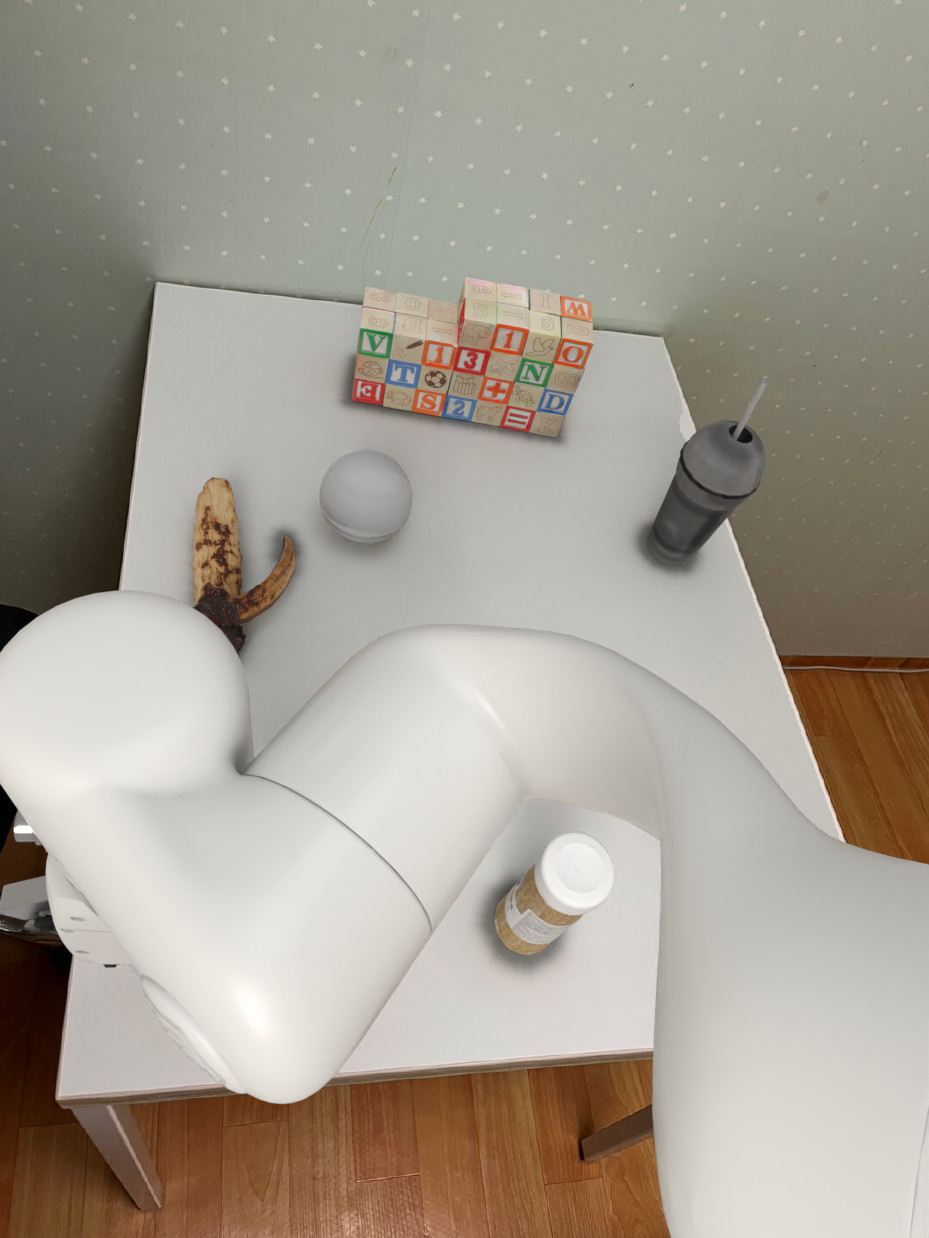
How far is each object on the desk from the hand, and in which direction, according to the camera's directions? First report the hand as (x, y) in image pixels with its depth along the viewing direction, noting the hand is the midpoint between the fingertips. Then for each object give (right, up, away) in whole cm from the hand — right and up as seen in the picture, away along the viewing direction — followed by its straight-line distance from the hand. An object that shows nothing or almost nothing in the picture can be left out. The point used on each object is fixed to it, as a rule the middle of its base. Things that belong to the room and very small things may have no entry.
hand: (198, 936), depth 49 cm
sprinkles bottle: (+19, -4, +13) cm, 23 cm away
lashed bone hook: (-4, +21, +24) cm, 32 cm away
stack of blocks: (+14, +40, +40) cm, 59 cm away
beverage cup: (+35, +25, +35) cm, 55 cm away
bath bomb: (+6, +26, +29) cm, 40 cm away
